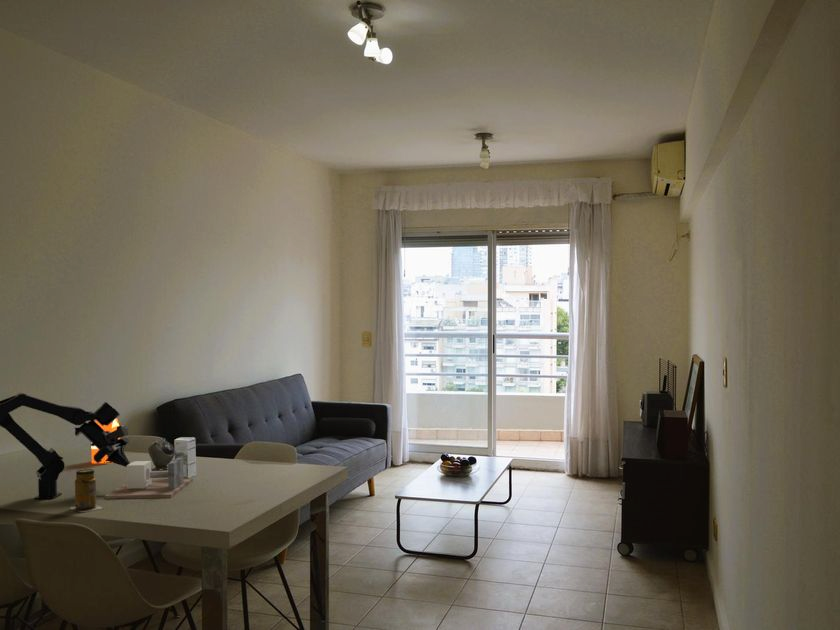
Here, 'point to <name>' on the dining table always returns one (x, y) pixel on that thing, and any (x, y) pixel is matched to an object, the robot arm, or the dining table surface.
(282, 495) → the dining table surface
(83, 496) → the condiment
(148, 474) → the white box with window
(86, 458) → the dining table surface
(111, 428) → the orange juice
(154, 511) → the dining table surface
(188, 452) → the syrup box
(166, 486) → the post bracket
